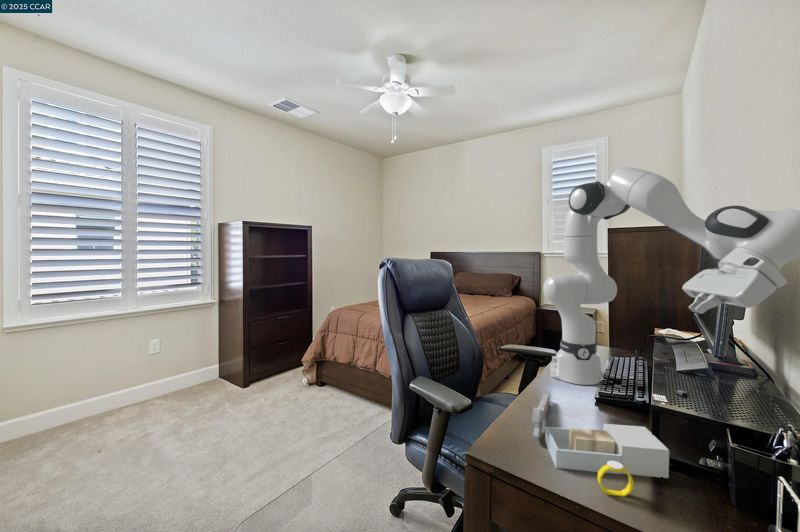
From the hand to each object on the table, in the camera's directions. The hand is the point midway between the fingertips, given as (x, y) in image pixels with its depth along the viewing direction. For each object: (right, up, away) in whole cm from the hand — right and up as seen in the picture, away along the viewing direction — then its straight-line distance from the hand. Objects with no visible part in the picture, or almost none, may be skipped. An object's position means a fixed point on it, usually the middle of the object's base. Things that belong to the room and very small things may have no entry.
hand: (694, 310), depth 83 cm
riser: (-17, -34, -4) cm, 38 cm away
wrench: (-30, -33, +16) cm, 47 cm away
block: (-22, -30, -3) cm, 38 cm away
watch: (-27, -34, -14) cm, 46 cm away
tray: (-28, -34, -2) cm, 44 cm away
